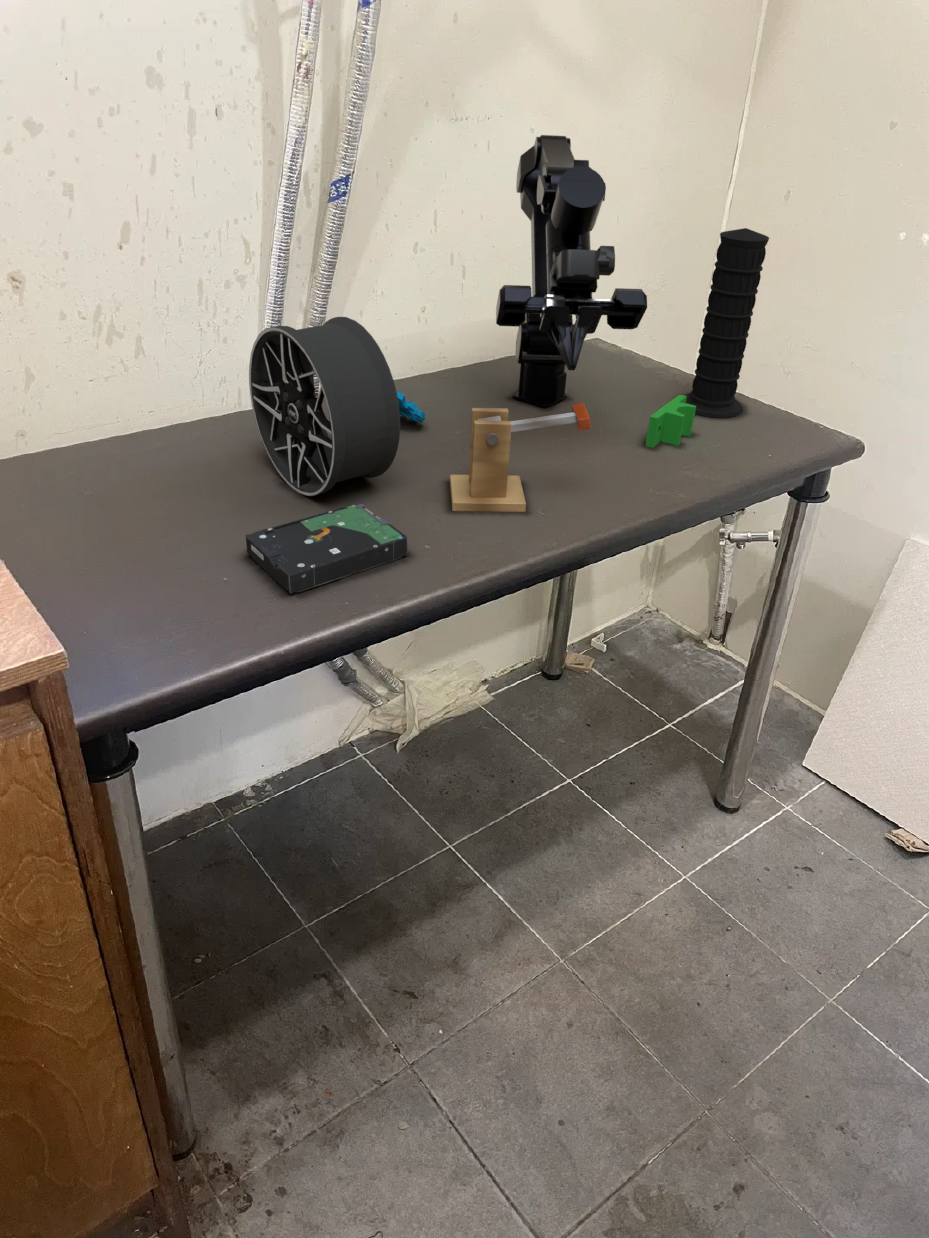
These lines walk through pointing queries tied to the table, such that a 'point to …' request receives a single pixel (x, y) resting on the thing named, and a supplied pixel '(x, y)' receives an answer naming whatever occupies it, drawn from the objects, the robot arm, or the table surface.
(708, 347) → the handle grip
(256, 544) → the disk drive
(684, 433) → the pipe clamp
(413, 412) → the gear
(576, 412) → the lever
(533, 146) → the robot arm
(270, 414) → the wheel rim
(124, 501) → the table surface
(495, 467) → the bracket
